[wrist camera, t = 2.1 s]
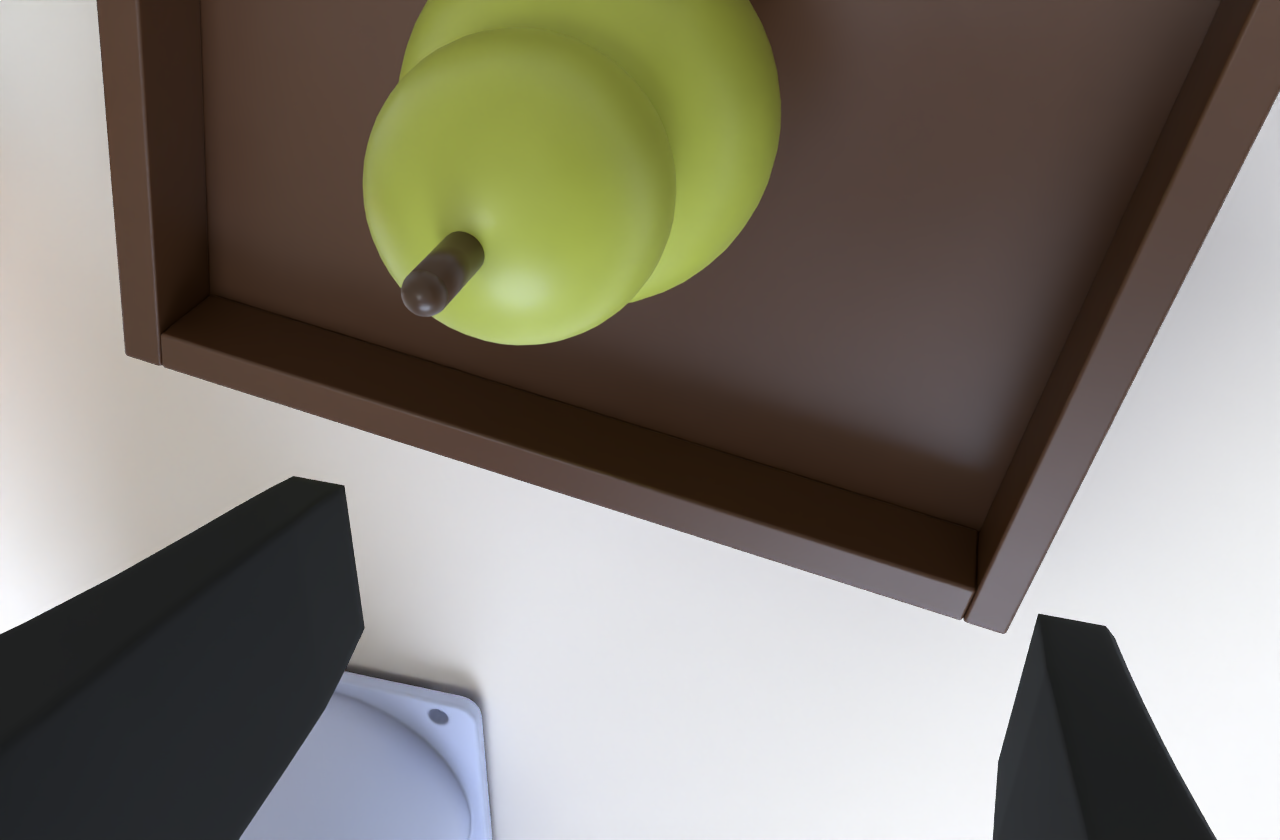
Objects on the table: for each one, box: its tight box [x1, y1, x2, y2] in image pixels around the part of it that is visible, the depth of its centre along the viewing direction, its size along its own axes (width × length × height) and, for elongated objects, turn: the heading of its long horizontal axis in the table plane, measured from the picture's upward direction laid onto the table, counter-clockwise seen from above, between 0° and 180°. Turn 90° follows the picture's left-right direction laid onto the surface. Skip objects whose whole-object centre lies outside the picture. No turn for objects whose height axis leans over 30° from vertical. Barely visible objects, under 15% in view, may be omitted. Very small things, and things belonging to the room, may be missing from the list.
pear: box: [363, 0, 781, 345], centre depth 16 cm, size 5×5×9 cm
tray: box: [97, 0, 1280, 634], centre depth 19 cm, size 18×16×2 cm
